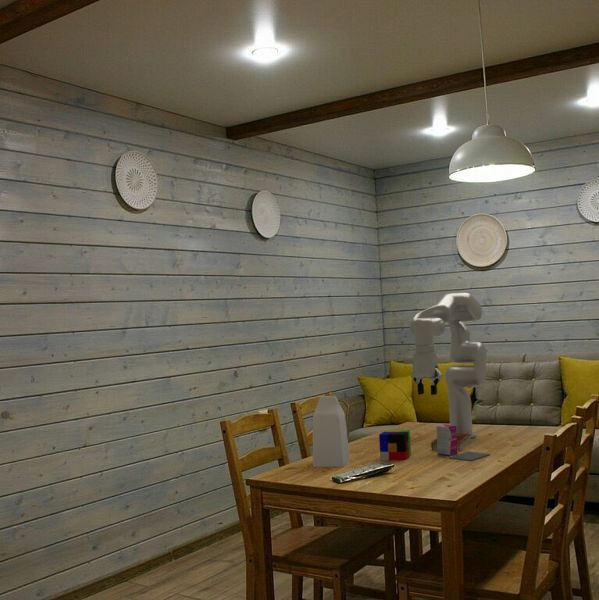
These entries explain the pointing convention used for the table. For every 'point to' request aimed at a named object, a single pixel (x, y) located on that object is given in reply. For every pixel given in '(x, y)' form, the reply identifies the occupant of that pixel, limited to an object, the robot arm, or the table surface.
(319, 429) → the milk
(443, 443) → the supplement box
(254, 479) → the table surface
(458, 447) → the hardcover book
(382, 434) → the puzzle toy
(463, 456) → the mat
